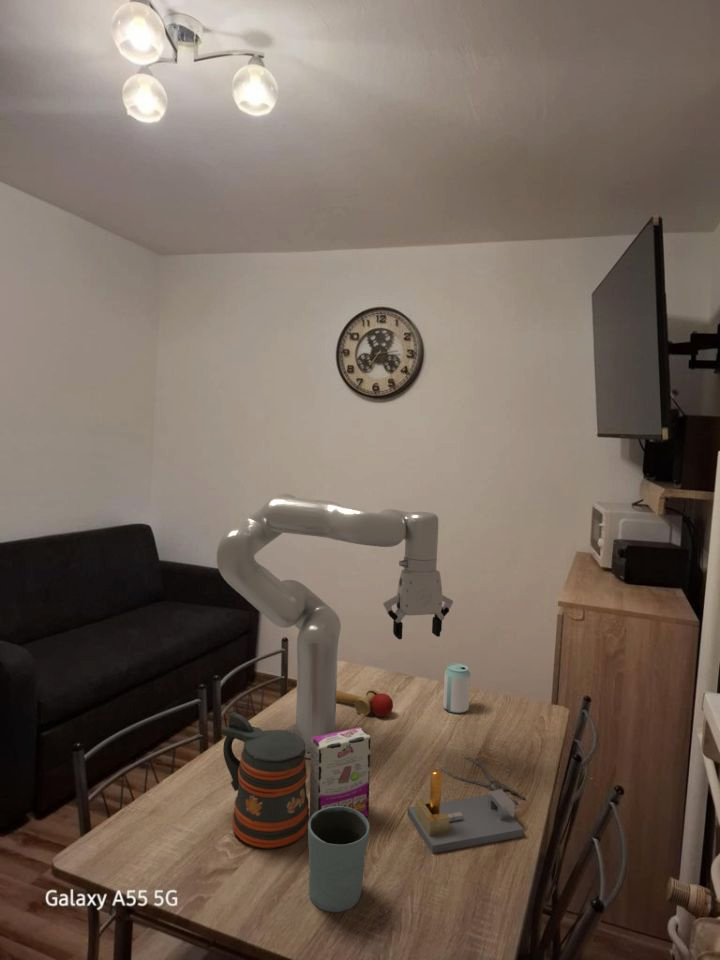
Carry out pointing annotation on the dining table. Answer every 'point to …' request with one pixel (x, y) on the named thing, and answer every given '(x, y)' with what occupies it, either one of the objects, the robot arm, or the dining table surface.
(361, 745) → the candy bar box
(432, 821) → the bracket
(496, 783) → the pliers
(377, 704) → the kendama
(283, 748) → the beer stein
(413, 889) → the dining table surface
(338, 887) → the grey green cup
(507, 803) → the block
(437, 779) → the amber lever
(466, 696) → the can
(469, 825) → the tie down board
